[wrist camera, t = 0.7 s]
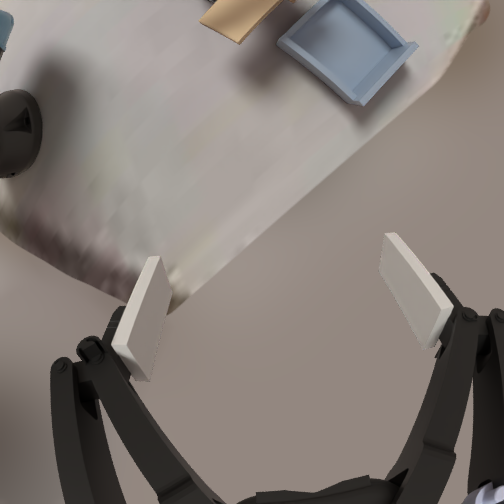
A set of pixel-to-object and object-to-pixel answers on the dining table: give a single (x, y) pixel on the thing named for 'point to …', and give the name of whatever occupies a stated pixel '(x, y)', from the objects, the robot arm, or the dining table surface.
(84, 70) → the dining table surface
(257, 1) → the lever
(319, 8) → the tray
